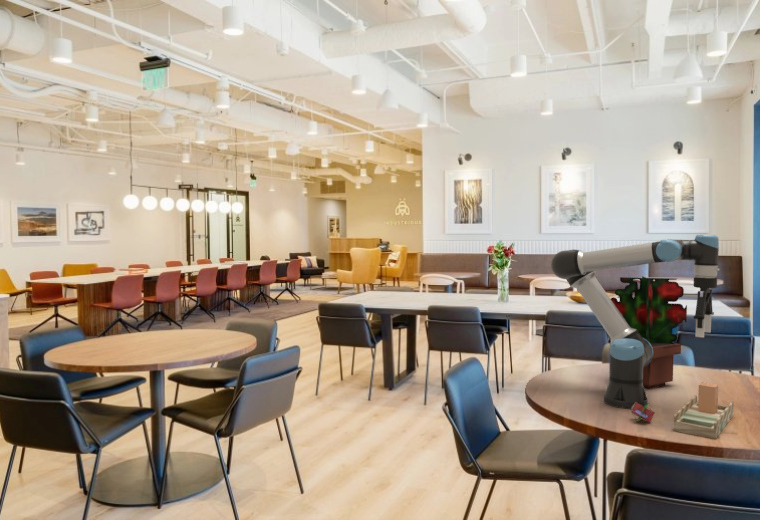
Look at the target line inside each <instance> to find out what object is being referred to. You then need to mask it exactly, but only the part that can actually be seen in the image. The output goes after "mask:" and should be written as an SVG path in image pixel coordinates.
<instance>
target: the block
mask: <svg viewBox="0 0 760 520" xmlns="http://www.w3.org/2000/svg"><path fill="white" fill-rule="evenodd" d="M697 401H698V411H701V412H706V413H712V414H715V413H716V412H717V411H718V405H719V384H717V383H711V382H709V383H708V382H704V381H702V382H700V383H699V384H698V394H697Z"/></svg>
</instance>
